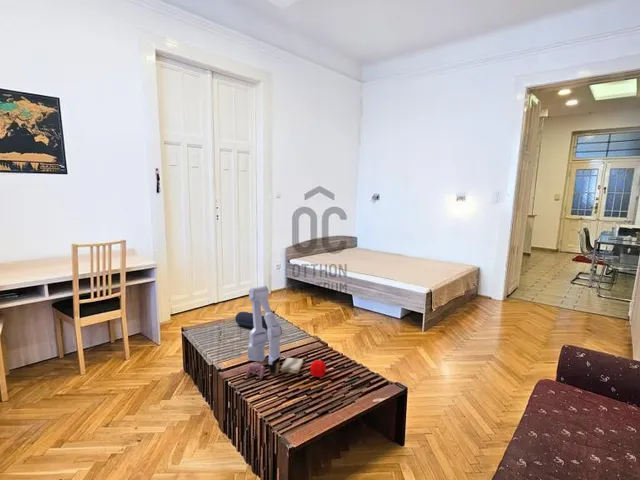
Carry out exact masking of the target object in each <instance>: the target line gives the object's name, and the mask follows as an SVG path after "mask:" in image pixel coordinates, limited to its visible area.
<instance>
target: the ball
mask: <svg viewBox="0 0 640 480" xmlns="http://www.w3.org/2000/svg"><path fill="white" fill-rule="evenodd" d="M326 371H327V364H326V363H325V362H324V360H317V359H315V360H314V361H312V362H311V364H310V369H309V373H310V375H312V376H313V377H314V378H315V377H316V378H323V376H325V375H326Z"/></svg>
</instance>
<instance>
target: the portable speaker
mask: <svg viewBox="0 0 640 480" xmlns="http://www.w3.org/2000/svg"><path fill="white" fill-rule="evenodd" d="M261 316H262V328H264V329H266V330H267V328H268V327H267V324H266V321H265V319H264V316H265V315H263V314H261ZM234 319H235V323H236V324H237V325H239V326H243V327H246V328H251V329H253V328H254V324H253V312H249V311H239V312H238V313H237V314H236V315H235V318H234Z"/></svg>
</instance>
